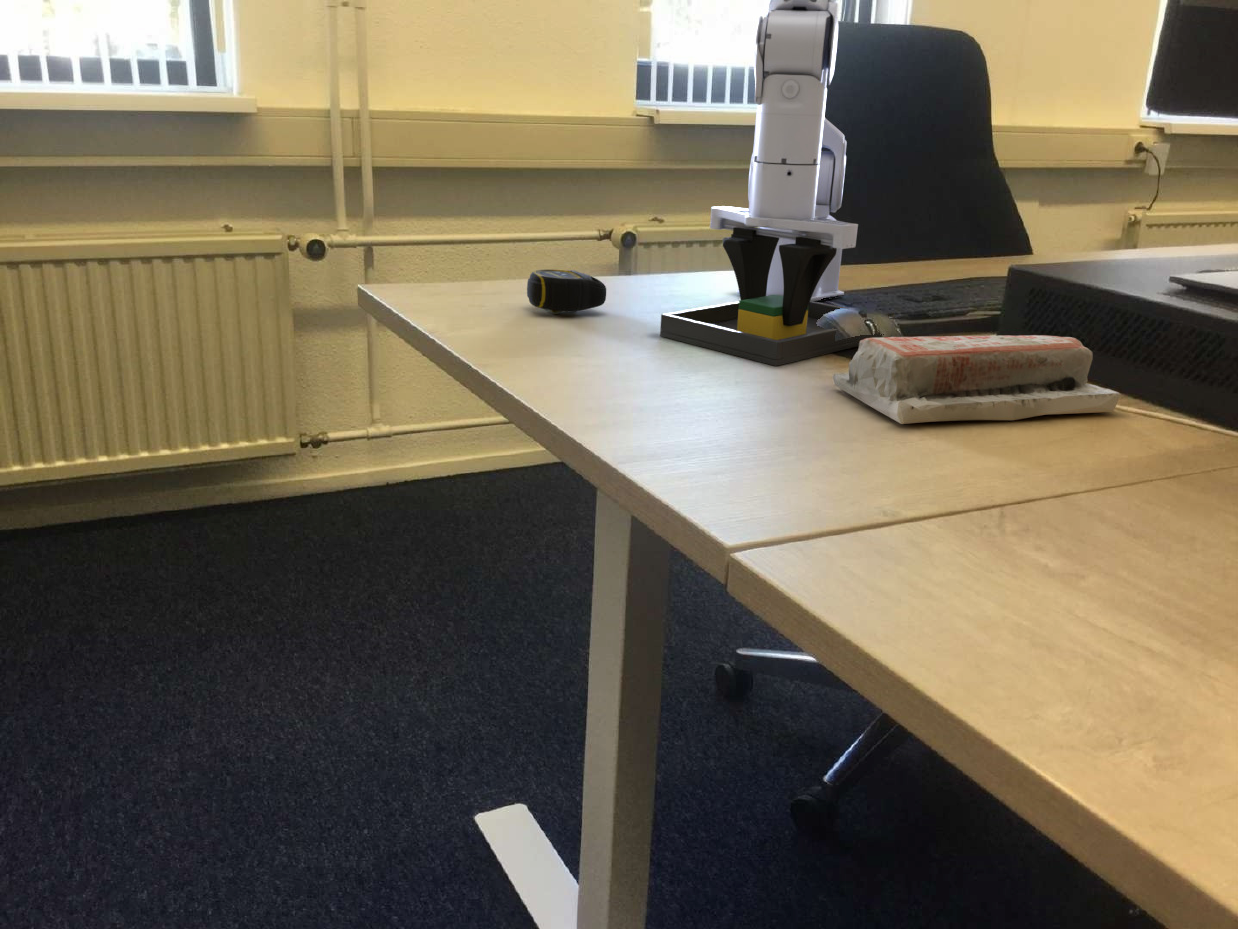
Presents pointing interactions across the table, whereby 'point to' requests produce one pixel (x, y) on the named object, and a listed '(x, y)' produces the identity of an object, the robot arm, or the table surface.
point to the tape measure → (564, 290)
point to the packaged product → (974, 378)
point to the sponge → (767, 318)
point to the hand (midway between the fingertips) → (772, 319)
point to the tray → (720, 334)
